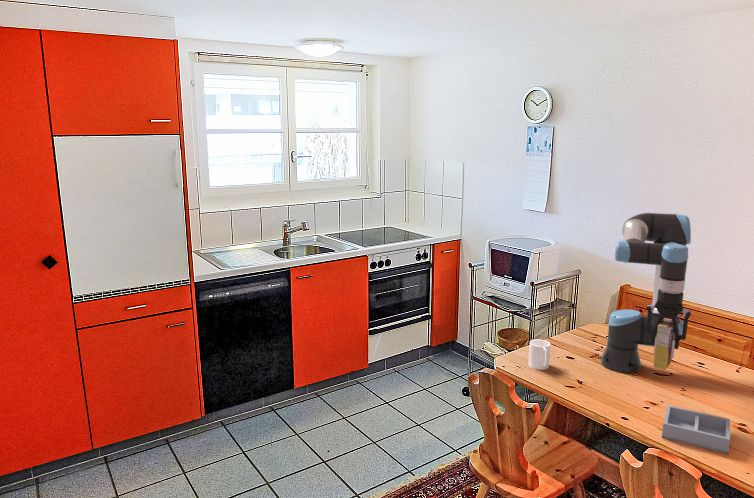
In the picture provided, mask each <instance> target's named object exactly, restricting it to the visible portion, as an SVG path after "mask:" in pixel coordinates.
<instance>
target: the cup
mask: <svg viewBox="0 0 754 498" xmlns="http://www.w3.org/2000/svg"><path fill="white" fill-rule="evenodd" d="M550 353H551V343H550V342H549V341H548V340H545V339H539V338H537V339H535V338H534V339H531V340H530V341H529V350H528V366H529V368H531V369H534V370H538V371H541V370H542V371H544V370H547V369H549V368H550V358H551V357H550V355H551V354H550Z"/></svg>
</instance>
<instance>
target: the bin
mask: <svg viewBox="0 0 754 498" xmlns="http://www.w3.org/2000/svg"><path fill="white" fill-rule="evenodd" d="M661 439H666V440H669V441H673V442H677V443H681V444H684V445H688V446H692V447H696V448H701V449H704V450H709V451H713V452H716V453H721V454H724V455H729V450H730V443H731V418H728V417H722V416H717V415H714V414H710V413H707V412H706V413H705V412H701V411H697V410H691V409H688V408H683V407H678V406H674V405H670V404H667V405H666V409H665V414H664V420H663V425H662V432H661Z"/></svg>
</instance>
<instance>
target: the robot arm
mask: <svg viewBox="0 0 754 498" xmlns="http://www.w3.org/2000/svg"><path fill="white" fill-rule="evenodd" d="M621 233H622V236H623V239H622V240H619V241H616V244H615V250H614V251H615V253H614V260H615V262H620V263H624V264H626V263H627V264H641V265H653V266H655V272H654V283H653V293H652V295H653V296H652V304H647V306H646V310H647V313H646V315H645V316H644V315H642V313H641V312H640V311H639V310H635V309H618V310H614V311H612V312H611V313H610V315H609V321H608V332H607V343H606V347H605V349H604V351H603V353H602V355H601V359H600V362H601V366H603V367H604V368H607V369H609V370H611V371H613V372H618V373H630V374H631V373H637V372H639V371H640V370H641V367H642V361H641V358H640V354H639V353H640V352H639V351H638V350H639V349H638V348H639V346H640V345H641V346H647V347H652V348H653V356H655V348H656V339H657V331H658V325H659V324H660V323H661V321H662V320H663V319H664V318H667V319H672V322H673V328H674V334H675V337H674V338H673V341H672V350H671V358H672V360H673V359H674V356H675V350H678V349H679V345H680V342H681V341H685V340H686V339H687V338H686V337H687V331H688V325H689V324H688V323H689V319H690V317H691V315H692V311H691V310H690V309H685V307H684V304H683V301H684V299H683V298H684V291H685V285H686V284H685V283H686V273H687V268H688V266H687V265H688V259H689V247H688V246H687V245H690V244H691V241H692V240H691V239H692V238H691V237H692V234H691V233H692V229H691V220H690V218H689V216H687V215H685V214H677V213H660V212H659V213H657V212H656V213H655V212H654V213H653V212H643V213H639V214H635V215H633V216H632V217H629V218H628V219H627V220H626V221H624V223H623V225H622V229H621ZM652 242H653V243H652ZM681 313H682V315H683V317H684V318H683V320H681V319H680V318H681V317H680V314H681Z"/></svg>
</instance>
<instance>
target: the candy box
mask: <svg viewBox="0 0 754 498" xmlns="http://www.w3.org/2000/svg"><path fill="white" fill-rule="evenodd" d="M674 337H675V334H674V328H673V322H672V319H667V318H664V319H663V320H662V321H661V323H660V324H659V325H658V331H657V339H656V348H655V355H654V359H653V367H654V368H656V369H661V370H665V371H666V370H667V369H668V368H669V366H670V364H671V363H672V361H673V359H672V358H671V350H672V341H673V338H674Z"/></svg>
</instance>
